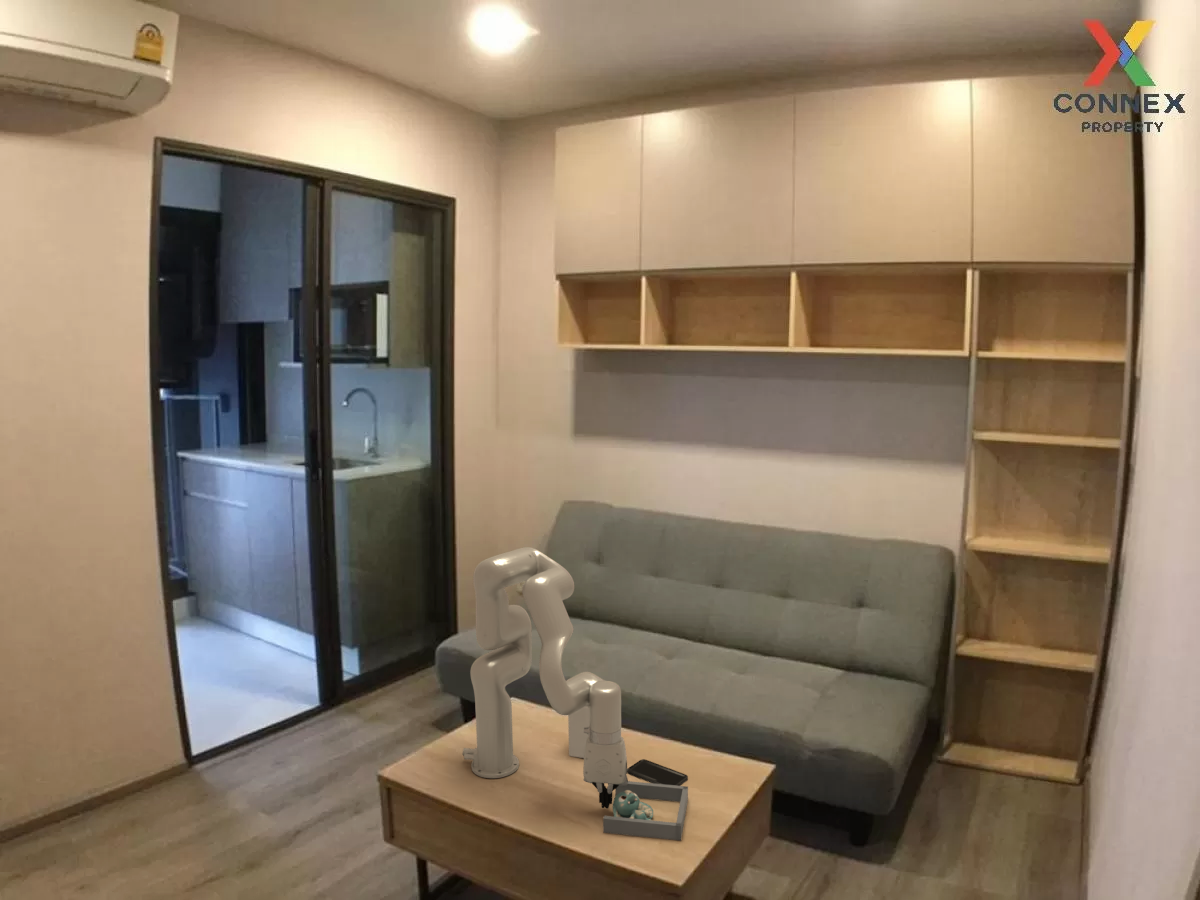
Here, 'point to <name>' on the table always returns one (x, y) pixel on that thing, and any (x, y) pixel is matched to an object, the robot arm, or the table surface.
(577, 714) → the milk carton
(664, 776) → the phone
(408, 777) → the table surface
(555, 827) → the table surface
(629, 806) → the stuffed animal
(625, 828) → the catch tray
